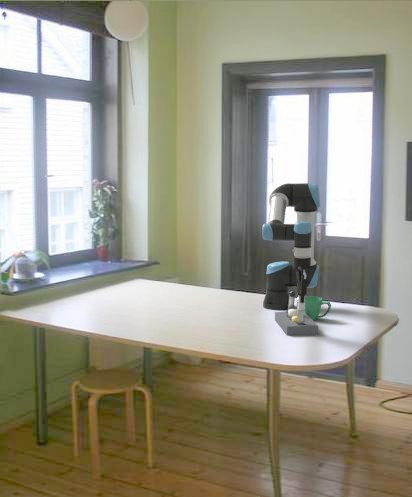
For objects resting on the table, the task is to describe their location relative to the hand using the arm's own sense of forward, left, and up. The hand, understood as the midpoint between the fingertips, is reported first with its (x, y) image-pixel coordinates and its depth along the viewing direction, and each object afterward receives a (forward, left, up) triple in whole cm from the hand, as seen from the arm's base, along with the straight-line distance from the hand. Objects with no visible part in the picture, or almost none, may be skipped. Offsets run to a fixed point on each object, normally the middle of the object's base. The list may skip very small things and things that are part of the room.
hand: (301, 309), depth 319 cm
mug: (-25, +13, -11) cm, 30 cm away
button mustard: (-9, 0, -9) cm, 12 cm away
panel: (-12, 0, -11) cm, 16 cm away
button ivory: (-16, 0, -7) cm, 17 cm away
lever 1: (-23, 0, -6) cm, 23 cm away
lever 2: (-2, 0, -6) cm, 6 cm away
